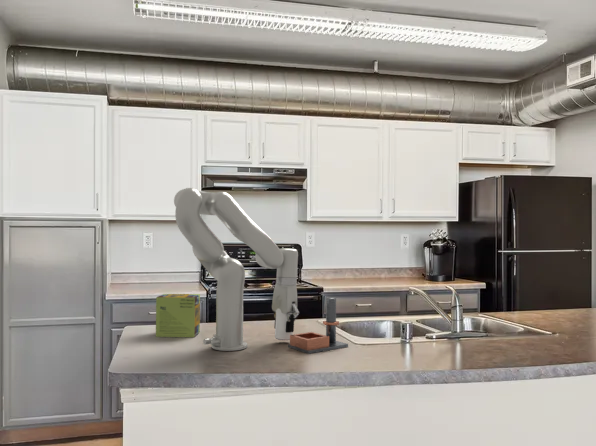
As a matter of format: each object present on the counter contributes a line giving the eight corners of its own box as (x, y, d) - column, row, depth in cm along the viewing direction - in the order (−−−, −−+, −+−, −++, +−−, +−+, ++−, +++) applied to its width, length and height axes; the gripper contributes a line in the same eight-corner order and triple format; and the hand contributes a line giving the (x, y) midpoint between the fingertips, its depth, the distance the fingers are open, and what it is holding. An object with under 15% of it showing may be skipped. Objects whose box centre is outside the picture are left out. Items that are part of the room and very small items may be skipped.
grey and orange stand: (309, 353, 188) (309, 303, 188) (288, 347, 197) (288, 299, 197) (348, 346, 199) (348, 299, 199) (326, 340, 208) (326, 295, 208)
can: (293, 337, 207) (294, 305, 207) (291, 341, 200) (292, 307, 200) (276, 336, 207) (277, 304, 208) (273, 339, 201) (275, 306, 201)
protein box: (195, 337, 213) (195, 297, 213) (155, 337, 213) (155, 296, 213) (200, 332, 223) (200, 293, 223) (162, 331, 223) (162, 293, 223)
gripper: (264, 279, 209) (262, 327, 209) (292, 284, 195) (289, 335, 195) (281, 279, 213) (278, 325, 213) (308, 284, 200) (306, 333, 199)
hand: (283, 329), depth 204 cm, fingers closed on can, 6 cm apart
